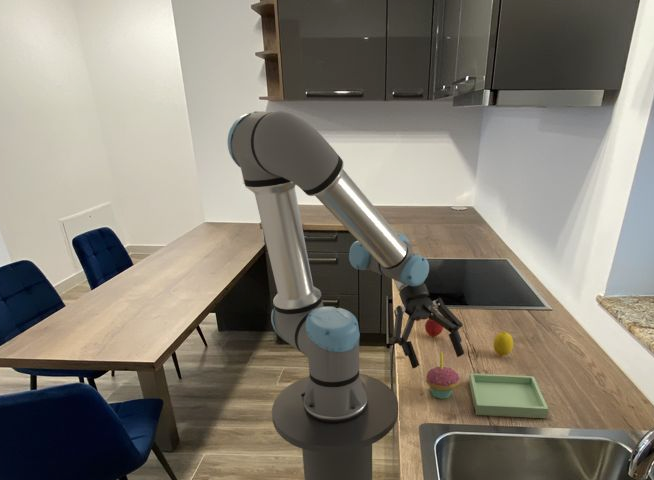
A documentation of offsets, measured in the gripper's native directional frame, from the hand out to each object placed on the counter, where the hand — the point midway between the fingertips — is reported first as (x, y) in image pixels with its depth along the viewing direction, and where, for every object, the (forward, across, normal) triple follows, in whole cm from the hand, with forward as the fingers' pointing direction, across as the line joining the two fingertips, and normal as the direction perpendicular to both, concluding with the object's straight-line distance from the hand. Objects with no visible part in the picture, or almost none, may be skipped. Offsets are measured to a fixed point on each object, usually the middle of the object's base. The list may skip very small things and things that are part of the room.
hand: (439, 361), depth 113 cm
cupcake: (+8, 0, +4) cm, 9 cm away
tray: (+14, +13, -2) cm, 19 cm away
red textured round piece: (-13, +16, +25) cm, 32 cm away
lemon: (+1, +27, +11) cm, 29 cm away
